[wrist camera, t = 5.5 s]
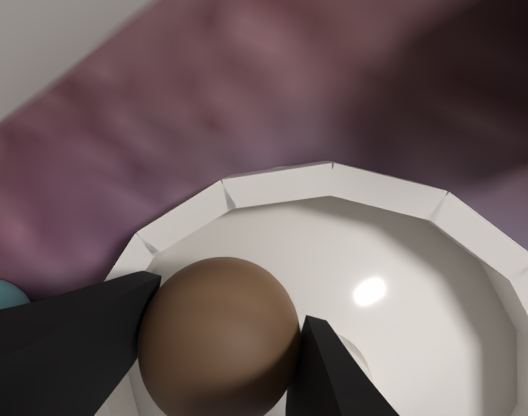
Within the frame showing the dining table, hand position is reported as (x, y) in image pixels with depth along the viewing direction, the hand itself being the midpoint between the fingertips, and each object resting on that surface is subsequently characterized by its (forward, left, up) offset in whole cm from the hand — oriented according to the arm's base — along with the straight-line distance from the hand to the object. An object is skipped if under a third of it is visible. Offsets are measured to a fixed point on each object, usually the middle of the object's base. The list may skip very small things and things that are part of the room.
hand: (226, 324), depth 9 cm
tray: (-4, -4, -4) cm, 7 cm away
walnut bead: (0, 0, -2) cm, 2 cm away
